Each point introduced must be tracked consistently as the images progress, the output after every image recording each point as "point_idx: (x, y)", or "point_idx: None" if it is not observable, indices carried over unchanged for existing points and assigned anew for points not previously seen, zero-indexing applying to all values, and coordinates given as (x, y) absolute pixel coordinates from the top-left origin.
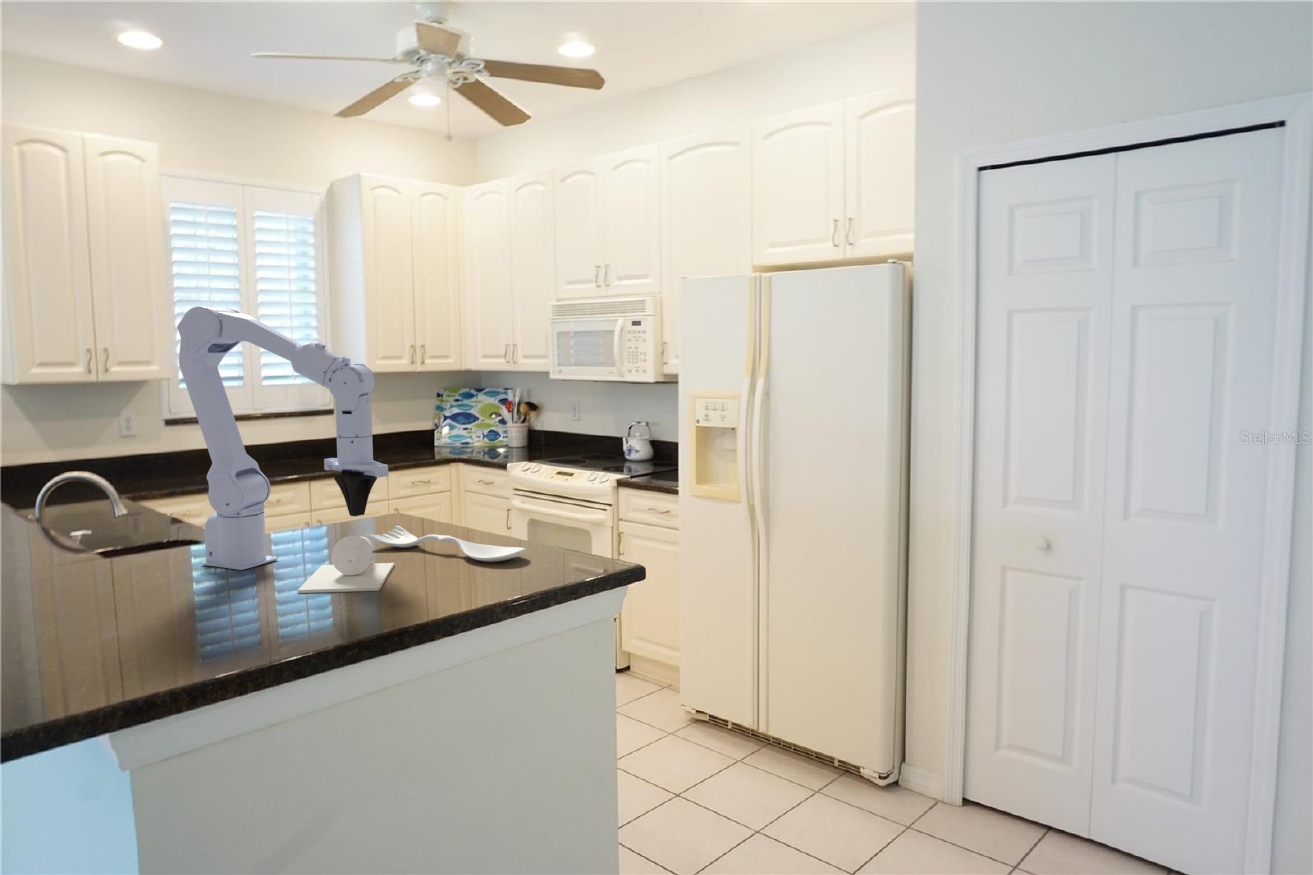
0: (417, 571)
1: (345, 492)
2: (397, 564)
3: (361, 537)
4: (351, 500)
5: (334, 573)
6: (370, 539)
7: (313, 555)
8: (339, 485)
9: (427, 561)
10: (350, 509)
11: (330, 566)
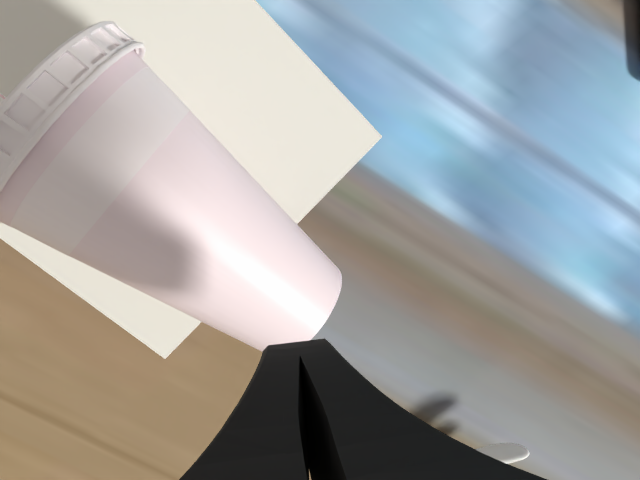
0: (8, 366)
1: (359, 439)
2: (180, 372)
3: (189, 286)
4: (262, 406)
5: (195, 85)
6: (487, 447)
7: (585, 229)
8: (490, 473)
9: (131, 468)
10: (301, 358)
11: (327, 147)
